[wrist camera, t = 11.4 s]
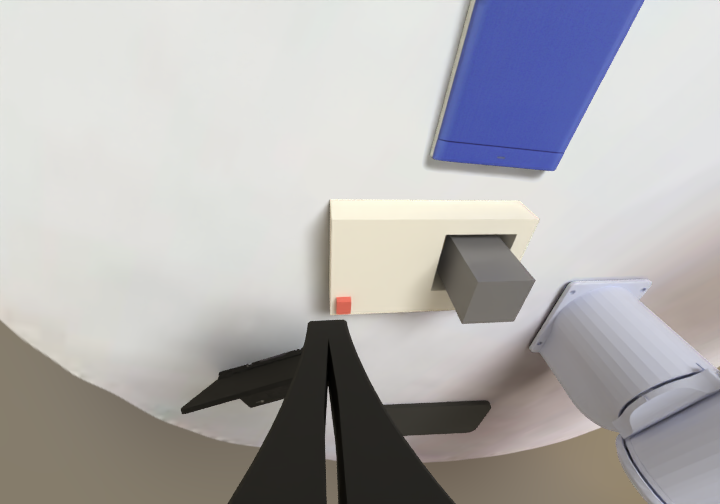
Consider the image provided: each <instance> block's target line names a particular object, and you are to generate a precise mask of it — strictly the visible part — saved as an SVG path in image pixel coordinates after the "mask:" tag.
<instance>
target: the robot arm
mask: <svg viewBox="0 0 720 504" xmlns="http://www.w3.org/2000/svg"><path fill="white" fill-rule="evenodd" d="M651 285H652V282H651V281H650V280H648V279H635V280H601V281H574V282H571V283H569V284H568V285H567V287H566V289H565V290H564V292H563V293H562V295H561V297H560V298H559V300H558V302H557V303H556V305H555V306H554V308H553V310H552V311H551V313H550V315H549V316H548V318H547V319H546V321H545V323H544V324H543V326H542V328H541V329H540V331H539V332H538V334H537V336H536V337H535V339H534V341H533V342H532V344H531V345H530V347H529V349H530V351H531V352H540V354H541V355H542V357H543V358H544V360H545V361H546V363H547V364H548V366H549V367H550V369H551V370H552V372H553V373H554V375H555V376H556V378H557V379H558V381H559V382H560V384H561V385H562V387H563V388H564V390H565V391H566V393H567V394H568V396H569V397H570V399H571V400H572V402H573V403H574V405H575V406H576V407H577V408H578V409H579V410H580V411H581V412H582V413H583V414H584V415H585V416H586V417H587V418H588V419H590V420H591V421H592V422H594V423H595V424H597V425H599V426H601V427H603V428H605V429H608V430H611V431H615V432H619V433H620V434H619V435H618V436H617V438H616V447H617V453H618V458H619V460H620V462H621V465H622V467H623V469H624V471H625V473H626V474H627V476H628V478H629V479H630V481H631V483H632V484H633V485H634V487H635V488H636V490H637V491H638V492H639V493H640V495H641V496H642V497H643V498H644V500H645V501H646V502H647V503H648V504H720V371H719V370H718V369H717V368H716V367H715V366H713V365H712V364H711V363H710V362H709V361H708V360H707V359H705V358H704V357H703V356H702V355H701V354H700V353H699V352H698V351H696V350H695V349H694V348H693V347H692V346H691V345H690V344H688V343H687V342H686V341H685V340H684V339H683V338H682V337H680V336H679V335H678V334H677V333H676V332H675V331H674V330H672V329H671V328H670V327H669V326H668V325H667V324H666V323H664V322H663V321H662V320H661V319H660V318H659V317H658V316H657V315H655V314H654V313H653V312H652V311H651V310H650V309H649V308H647V307H646V306H645V305H644V304H643V303H642V302H641V301H639V300H640V298H641V297H642V296H643V295H644V294H645V292H646V291H647V290H648V289H649V287H650V286H651ZM328 386H329V394H330V402H331V411H332V419H333V427H334V435H335V444H336V456H337V480H338V504H455V503H454V501H453V500H452V499H451V498H450V497H449V496H448V494H447V493H446V492H445V491H444V490H443V488H442V487H441V486H440V485H439V484H438V483H437V481H436V480H435V479H434V477H433V476H432V475H431V473H430V472H429V471H428V470H427V468H426V467H425V466H424V465H423V463H422V462H421V460H420V459H419V458H418V456H417V455H416V454H415V452H414V451H413V449H412V448H411V447H410V445H409V444H408V443H407V441H406V440H405V438H404V437H403V436H402V434H401V433H400V431H399V429H398V428H397V426H396V425H395V423H394V422H393V420H392V419H391V417H390V416H389V414H388V412H387V411H386V409H385V407H384V406H383V404H382V402H381V401H380V399H379V397H378V395H377V393H376V392H375V390H374V388H373V386H372V384H371V382H370V380H369V378H368V376H367V374H366V372H365V370H364V368H363V366H362V364H361V361H360V359H359V357H358V355H357V352H356V350H355V347H354V345H353V342H352V339H351V336H350V333H349V330H348V326H347V322H346V321H345V320H326V321H310V322H309V323H308V327H307V334H306V338H305V343H304V346H303V350H302V353H301V357H300V360H299V362H298V365H297V368H296V371H295V374H294V377H293V379H292V382H291V384H290V387H289V389H288V392H287V394H286V396H285V399H284V401H283V403H282V406H281V408H280V410H279V412H278V414H277V416H276V419H275V421H274V423H273V425H272V427H271V429H270V431H269V433H268V435H267V436H266V438H265V440H264V442H263V444H262V446H261V448H260V450H259V452H258V453H257V455H256V457H255V459H254V461H253V463H252V464H251V466H250V467H249V469H248V471H247V473H246V474H245V476H244V478H243V479H242V481H241V483H240V484H239V486H238V487H237V489H236V491H235V492H234V494H233V496H232V498H231V499H230V501H229V502H228V504H327V501H326V469H325V468H326V467H325V466H326V465H325V425H326V407H327V389H328Z"/></svg>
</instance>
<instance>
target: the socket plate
mask: <svg viewBox="0 0 720 504" xmlns="http://www.w3.org/2000/svg"><path fill="white" fill-rule="evenodd" d="M539 220H540V219H539V218H538V217H537V216H536V215H535V214H533V213H532V212H531V211H530V210H529V209H528V208H527V207H526V206H525V205H524V204H522V203H521V202H520V201H494V200H343V199H330V254H329V299H330V315H347V314H372V313H396V312H420V311H445V310H455V308H454V306H453V304H452V302H451V300H450V298H449V295H448V293H447V291H446V289H445V287H444V285H443V283H442V281H441V279H440V277H439V275H438V272H437V268H438V265H439V261H440V257H441V254H442V247H443V244H444V240H445V238H446V236H447V235H471V234H497V235H498V236H499V237H500V238H501V240H502V241H503V242H504V243H505V244H506V246H507V247H508V248H509V249H510V250H511V252H512V253H513V254H514V255H515V256H516V258H517V259H518V260H519V261H521V259H522V257H523V254H524V252H525V250H526V248H527V246H528V244H529V242H530V239H531V237H532V235H533V233H534V231H535V229H536V227H537V224H538V222H539Z"/></svg>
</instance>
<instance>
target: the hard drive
mask: <svg viewBox="0 0 720 504" xmlns="http://www.w3.org/2000/svg"><path fill="white" fill-rule="evenodd" d="M643 2H644V0H471V1H470V5H469V9H468V13H467V16H466V20H465V24H464V28H463V32H462V35H461V39H460V43H459V47H458V50H457V54H456V58H455V62H454V66H453V69H452V73H451V77H450V81H449V85H448V88H447V92H446V96H445V100H444V104H443V107H442V111H441V115H440V119H439V122H438V126H437V130H436V134H435V138H434V141H433V145H432V149H431V153H430V155H431V156H432V158H433V159H436V160H441V161H450V162H460V163H471V164H482V165H493V166H504V167H514V168H525V169H535V170H546V171H554V170H555V169H556V168H557V166H558V164H559V162H560V160H561V158H562V156H563V154H564V152H565V150H566V148H567V146H568V144H569V142H570V140H571V138H572V137H573V135H574V133H575V131H576V129H577V127H578V125H579V123H580V121H581V119H582V117H583V116H584V114H585V112H586V110H587V108H588V106H589V104H590V102H591V100H592V99H593V97H594V95H595V93H596V91H597V89H598V87H599V85H600V83H601V81H602V80H603V78H604V76H605V74H606V72H607V70H608V68H609V66H610V65H611V63H612V61H613V59H614V57H615V55H616V53H617V51H618V49H619V48H620V46H621V44H622V42H623V40H624V38H625V36H626V35H627V33H628V31H629V29H630V27H631V25H632V23H633V21H634V19H635V17H636V15H637V13H638V11H639V10H640V8H641V6H642V4H643Z"/></svg>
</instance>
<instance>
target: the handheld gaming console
mask: <svg viewBox="0 0 720 504" xmlns="http://www.w3.org/2000/svg"><path fill="white" fill-rule="evenodd" d="M302 350H303V348H301V350H299V349H297V351H295V350H294V351H290V352H287V353H283V354H280V355H277V356H273V357H270V358H267V359H263V360H260V361H257V362H254V363H252V365H248V364H247V365H244V366H240V367H237V368H232V369H229V370H225V371H222V372H219V377H218V380H217V381H215V382H214V383H213V384H211V385H210V386H209V387H207V388H206V389H205V390H204V391H202V392H201V393H200V394H199V395H197V396H196V397H195V398H193V399H192V400H191V401H190V402H188V403H187V404H186V405H185V406H183V407H182V408H181V412H182V414H186V413H190V412H194V411H197V410H201V409H204V408H208V407H211V406H215V405H218V404H222V403H225V402H229V401H232V400H236V399H239V398H240V399H241V400H242V401H243V402H244V403H246V404H247V405H248V406H249V407H250V408H252V407H256V406H259V405H263V404H266V403H270V402H274V401H278V400H281V399H285V396H286V394H287V392H288V389H289V387H290V384H291V382H292V379H293V377H294V374H295V371H296V368H297V365H298V362H299V360H300V357H301V353H302Z"/></svg>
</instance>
